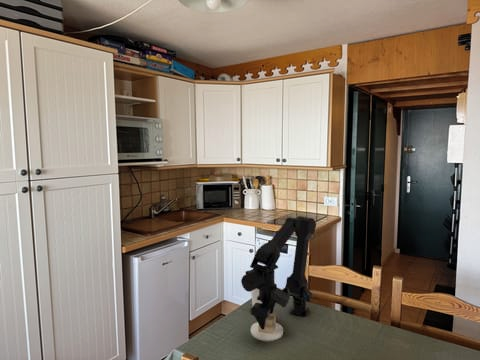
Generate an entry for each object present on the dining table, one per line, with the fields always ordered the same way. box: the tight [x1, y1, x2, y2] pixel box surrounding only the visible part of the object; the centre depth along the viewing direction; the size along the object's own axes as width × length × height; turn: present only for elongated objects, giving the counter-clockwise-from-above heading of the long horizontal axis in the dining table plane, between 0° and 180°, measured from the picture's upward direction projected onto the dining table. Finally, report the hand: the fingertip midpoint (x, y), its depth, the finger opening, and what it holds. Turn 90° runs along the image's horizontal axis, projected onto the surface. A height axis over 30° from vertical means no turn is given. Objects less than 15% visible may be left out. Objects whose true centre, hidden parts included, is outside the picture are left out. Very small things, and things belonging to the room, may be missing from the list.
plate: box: [250, 321, 284, 342], centre depth 126 cm, size 12×12×1 cm
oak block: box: [258, 313, 276, 334], centre depth 125 cm, size 5×5×5 cm
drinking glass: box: [250, 289, 262, 307], centre depth 141 cm, size 7×7×15 cm
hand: (266, 322), depth 125 cm, fingers open, 9 cm apart
